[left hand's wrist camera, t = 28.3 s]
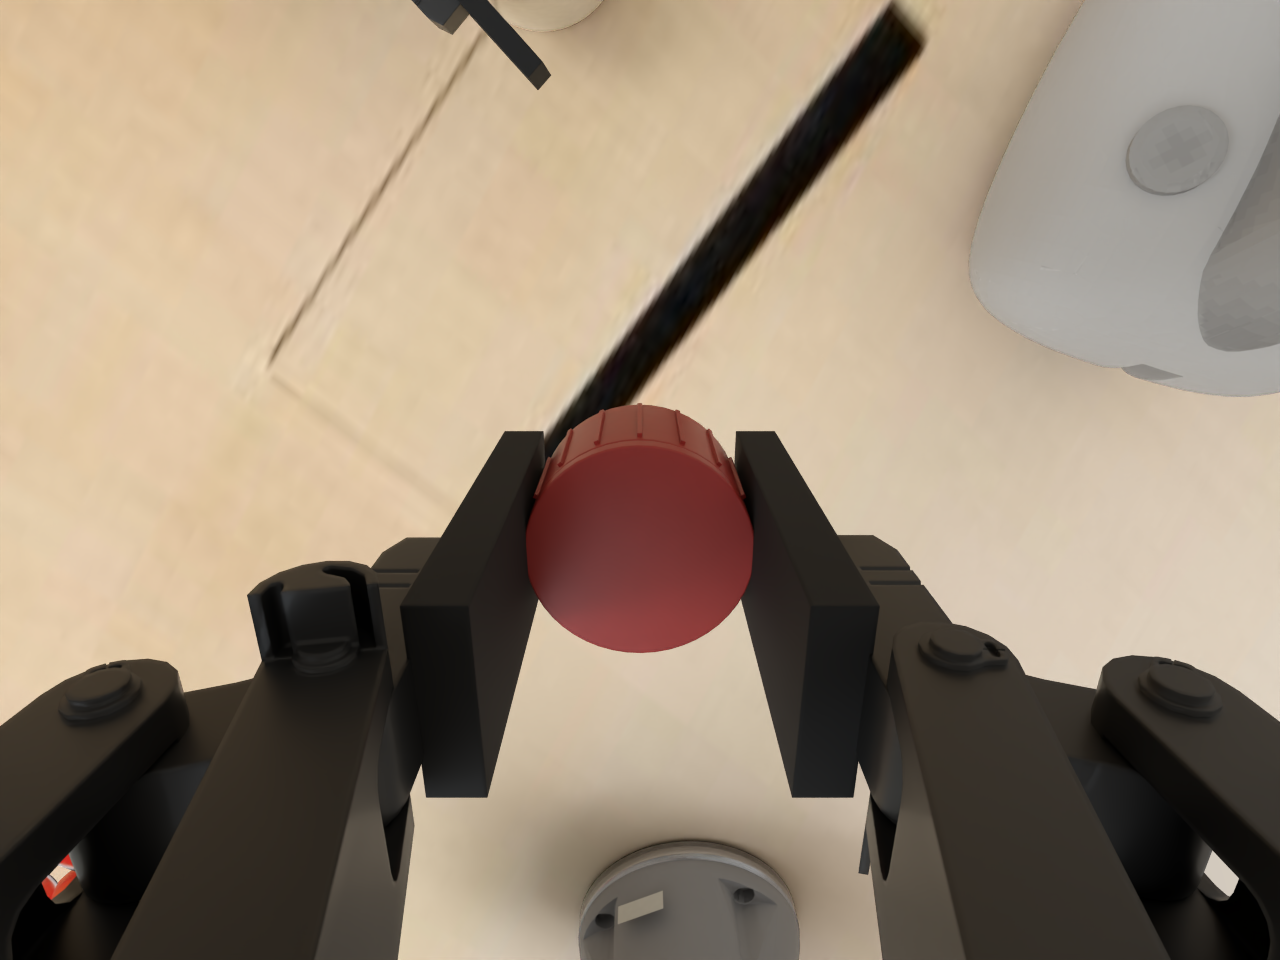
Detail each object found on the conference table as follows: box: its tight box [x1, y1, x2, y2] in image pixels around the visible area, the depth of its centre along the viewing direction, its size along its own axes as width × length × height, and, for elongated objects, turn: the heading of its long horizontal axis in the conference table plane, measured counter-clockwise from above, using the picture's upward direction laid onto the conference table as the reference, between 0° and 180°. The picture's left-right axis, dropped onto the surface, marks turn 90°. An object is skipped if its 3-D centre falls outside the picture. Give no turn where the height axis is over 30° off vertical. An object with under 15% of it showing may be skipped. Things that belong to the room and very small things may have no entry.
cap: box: [526, 403, 754, 653], centre depth 13 cm, size 4×4×2 cm
